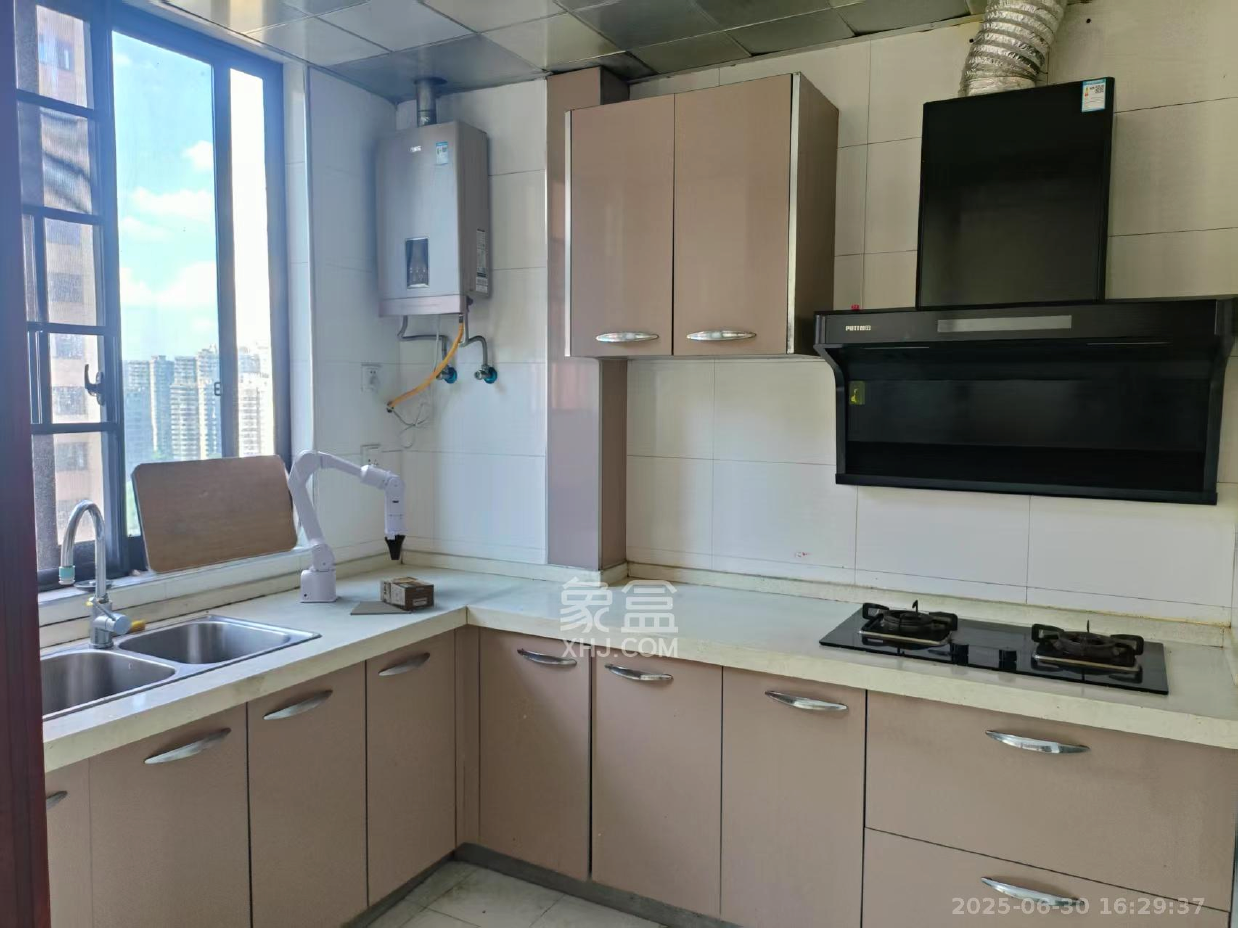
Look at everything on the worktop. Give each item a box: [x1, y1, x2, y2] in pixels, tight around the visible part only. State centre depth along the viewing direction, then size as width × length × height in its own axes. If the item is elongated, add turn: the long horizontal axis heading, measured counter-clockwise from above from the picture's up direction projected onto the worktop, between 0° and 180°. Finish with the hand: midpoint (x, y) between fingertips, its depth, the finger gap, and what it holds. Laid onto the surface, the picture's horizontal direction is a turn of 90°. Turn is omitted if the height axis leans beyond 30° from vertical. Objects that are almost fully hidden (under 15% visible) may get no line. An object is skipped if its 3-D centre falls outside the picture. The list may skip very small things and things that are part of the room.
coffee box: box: [379, 575, 435, 611], centre depth 243 cm, size 9×6×16 cm
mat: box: [349, 600, 414, 616], centre depth 239 cm, size 16×14×1 cm
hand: (395, 559), depth 257 cm, fingers closed
